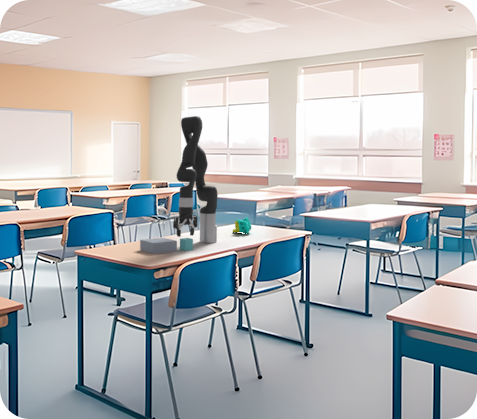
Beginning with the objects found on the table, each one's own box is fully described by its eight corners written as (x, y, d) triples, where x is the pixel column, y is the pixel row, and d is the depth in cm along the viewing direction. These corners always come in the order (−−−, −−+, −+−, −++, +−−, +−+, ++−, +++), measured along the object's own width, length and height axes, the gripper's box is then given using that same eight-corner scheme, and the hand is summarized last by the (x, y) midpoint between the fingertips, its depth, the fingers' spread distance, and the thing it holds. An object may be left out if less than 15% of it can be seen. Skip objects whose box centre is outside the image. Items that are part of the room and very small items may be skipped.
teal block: (187, 248, 294) (187, 237, 293) (192, 250, 290) (192, 239, 290) (179, 249, 290) (179, 238, 290) (185, 250, 287) (185, 239, 286)
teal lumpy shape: (225, 222, 357) (239, 213, 364) (233, 238, 359) (246, 228, 366) (238, 221, 344) (252, 210, 351) (246, 236, 347) (260, 226, 354)
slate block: (162, 248, 295) (162, 237, 295) (176, 252, 285) (176, 240, 284) (140, 250, 286) (140, 239, 286) (154, 254, 276) (154, 243, 275)
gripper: (192, 205, 296) (191, 234, 297) (171, 205, 286) (170, 236, 287) (200, 206, 290) (200, 235, 291) (179, 206, 281) (178, 237, 282)
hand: (185, 235), depth 289 cm, fingers open, 8 cm apart
